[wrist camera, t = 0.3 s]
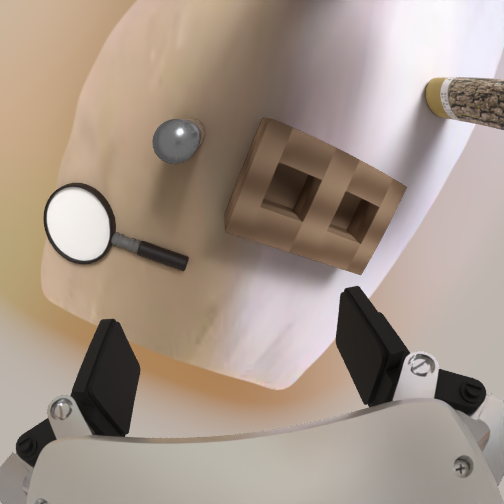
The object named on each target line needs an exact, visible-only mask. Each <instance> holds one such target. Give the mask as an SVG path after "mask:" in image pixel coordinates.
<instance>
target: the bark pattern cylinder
mask: <svg viewBox="0 0 504 504" xmlns="http://www.w3.org/2000/svg"><path fill="white" fill-rule="evenodd" d="M426 100H427V103H428V106H429V107H430V109H431V110H432V112H433V113H434V114H435V115H437V116H439V117H441V118H447V119H454V120H459V121H464V122H470V123H475V124H480V125H485V126H489V127H493V128H497V129H501V130H504V80H502V79H489V78H461V77H459V78H458V77H451V78H434V79H432V80H431V81H430V82H429V83H428V85H427V88H426Z"/></svg>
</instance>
